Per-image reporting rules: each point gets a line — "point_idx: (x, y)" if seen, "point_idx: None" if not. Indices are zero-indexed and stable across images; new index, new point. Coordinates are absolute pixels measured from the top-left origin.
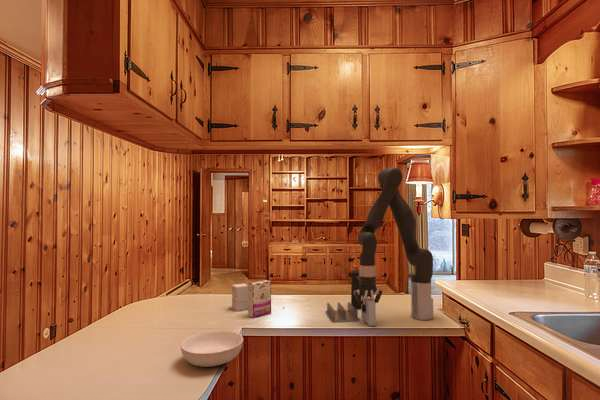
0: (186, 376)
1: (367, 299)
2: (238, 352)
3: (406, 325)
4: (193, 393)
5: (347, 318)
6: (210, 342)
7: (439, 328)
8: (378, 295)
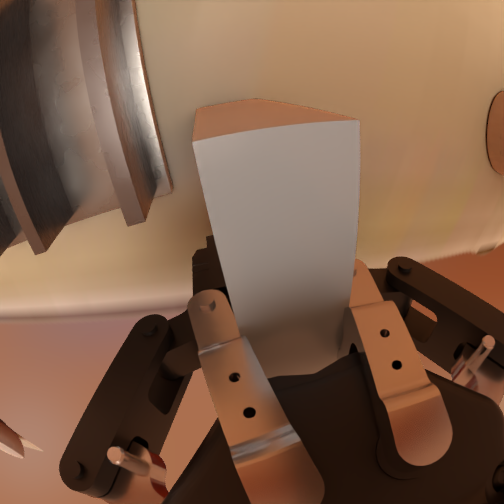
0: None
1: (288, 351)
2: (18, 442)
3: (425, 236)
4: (40, 450)
5: (77, 190)
6: None
7: (480, 254)
8: (439, 364)
